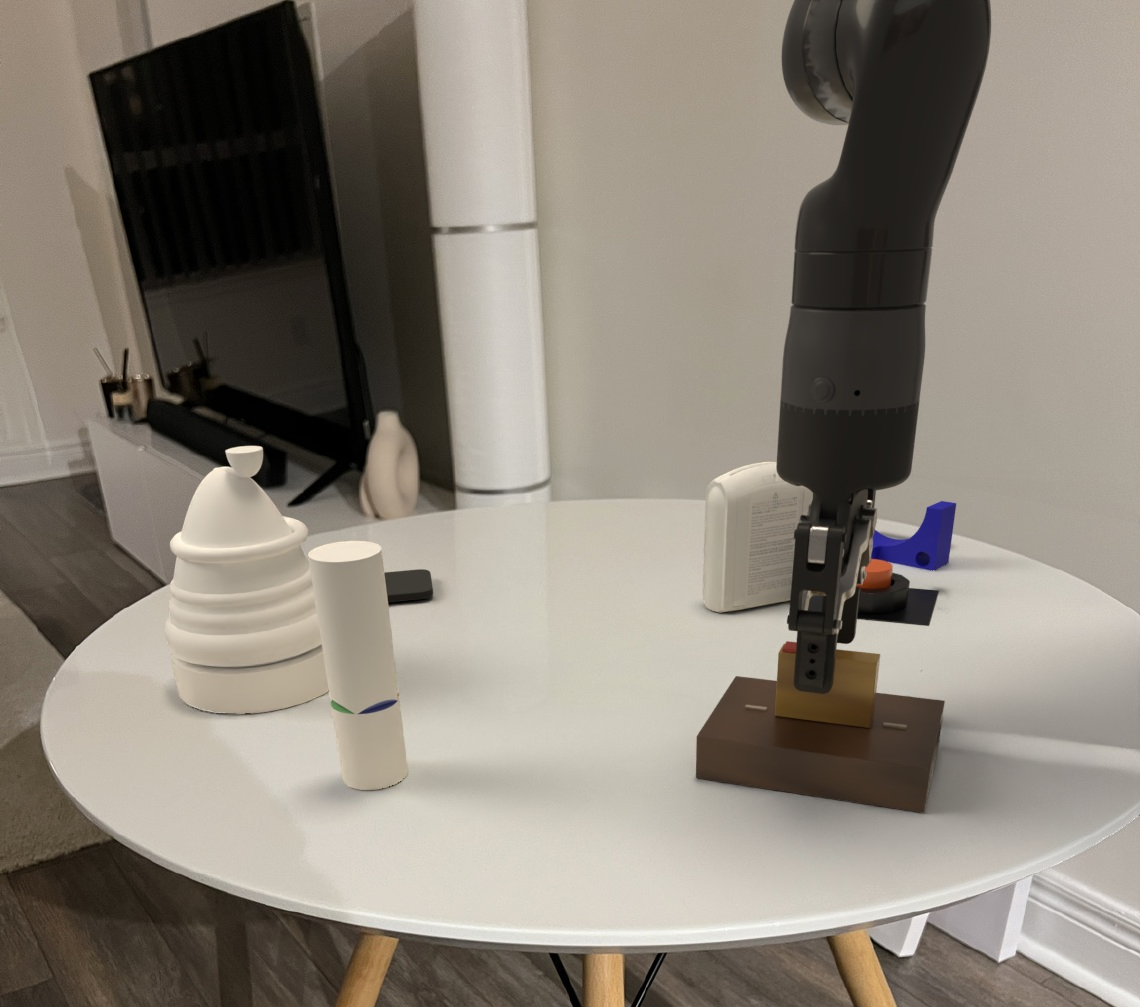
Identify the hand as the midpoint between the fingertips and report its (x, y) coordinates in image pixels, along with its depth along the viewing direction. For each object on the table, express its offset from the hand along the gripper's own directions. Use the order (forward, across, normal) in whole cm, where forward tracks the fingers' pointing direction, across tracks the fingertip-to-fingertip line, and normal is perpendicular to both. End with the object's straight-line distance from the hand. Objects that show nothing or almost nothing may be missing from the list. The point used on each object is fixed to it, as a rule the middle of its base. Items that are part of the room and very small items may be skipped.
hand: (825, 664), depth 67 cm
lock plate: (+7, 0, 0) cm, 7 cm away
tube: (+7, -11, +27) cm, 30 cm away
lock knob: (+4, 0, 0) cm, 4 cm away
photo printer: (+7, +29, +11) cm, 32 cm away
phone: (+7, +20, +48) cm, 52 cm away
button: (+3, +27, +1) cm, 27 cm away
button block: (+7, +27, +1) cm, 28 cm away
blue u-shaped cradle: (+7, +45, +2) cm, 46 cm away
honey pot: (+7, 0, +44) cm, 44 cm away
